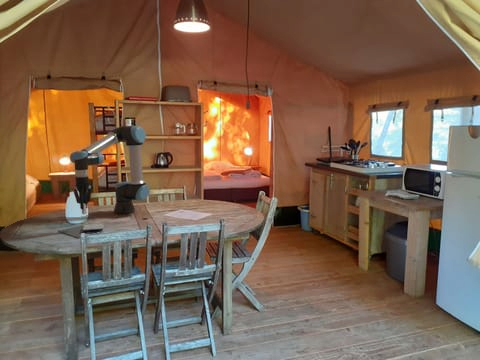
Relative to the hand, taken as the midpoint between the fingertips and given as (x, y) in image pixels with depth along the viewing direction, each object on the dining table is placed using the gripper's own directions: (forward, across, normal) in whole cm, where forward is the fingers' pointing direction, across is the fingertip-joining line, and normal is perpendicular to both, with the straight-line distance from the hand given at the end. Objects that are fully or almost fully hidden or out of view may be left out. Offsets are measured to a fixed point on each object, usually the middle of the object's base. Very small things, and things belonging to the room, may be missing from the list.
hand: (84, 213), depth 231 cm
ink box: (+9, +6, -1) cm, 11 cm away
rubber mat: (+11, -3, 0) cm, 11 cm away
